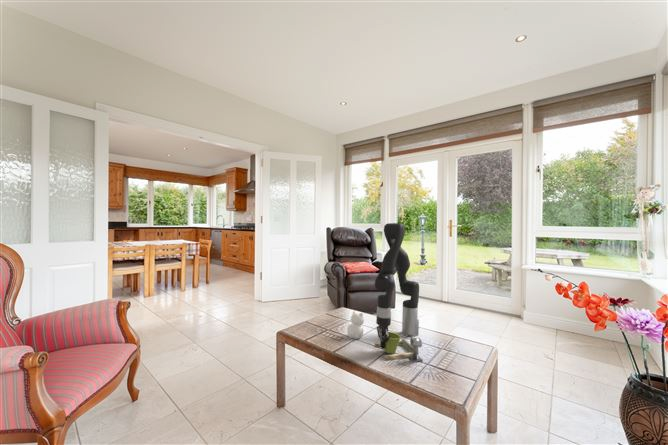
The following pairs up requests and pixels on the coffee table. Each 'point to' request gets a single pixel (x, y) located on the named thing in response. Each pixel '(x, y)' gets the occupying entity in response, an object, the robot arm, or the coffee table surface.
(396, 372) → the coffee table surface
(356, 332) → the cat figurine
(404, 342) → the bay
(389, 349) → the plant pot
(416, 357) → the winch post
